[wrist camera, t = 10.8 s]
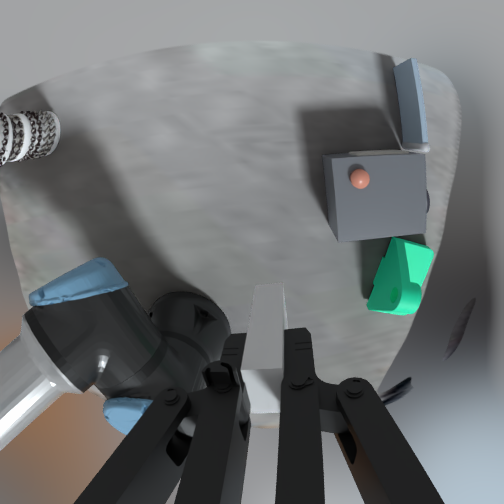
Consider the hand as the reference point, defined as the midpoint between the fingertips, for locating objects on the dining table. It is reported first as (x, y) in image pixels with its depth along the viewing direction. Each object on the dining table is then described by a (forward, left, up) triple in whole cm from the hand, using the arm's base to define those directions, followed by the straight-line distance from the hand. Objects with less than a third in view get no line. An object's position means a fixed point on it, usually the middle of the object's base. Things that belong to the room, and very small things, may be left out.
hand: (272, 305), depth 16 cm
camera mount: (-13, -18, -27) cm, 35 cm away
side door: (+12, -20, -26) cm, 35 cm away
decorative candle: (+20, +38, -27) cm, 51 cm away
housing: (+1, -13, -26) cm, 29 cm away
